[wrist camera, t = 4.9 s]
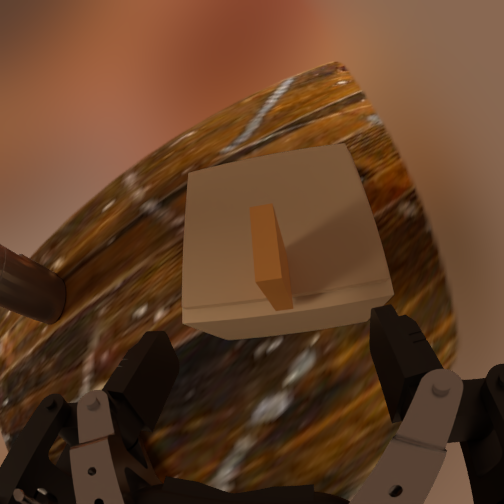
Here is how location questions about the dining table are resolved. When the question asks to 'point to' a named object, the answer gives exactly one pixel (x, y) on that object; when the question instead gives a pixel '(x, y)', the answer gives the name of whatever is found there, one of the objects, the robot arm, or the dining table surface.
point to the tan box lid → (278, 230)
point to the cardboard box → (293, 310)
